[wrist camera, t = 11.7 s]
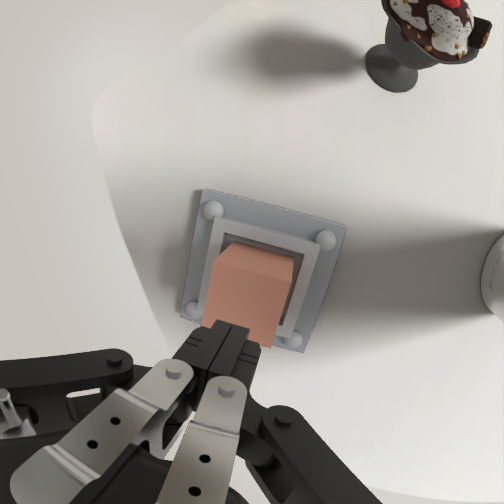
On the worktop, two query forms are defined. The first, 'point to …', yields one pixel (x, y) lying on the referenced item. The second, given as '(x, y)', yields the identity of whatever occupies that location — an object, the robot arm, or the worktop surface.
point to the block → (249, 290)
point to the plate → (270, 238)
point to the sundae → (424, 40)
